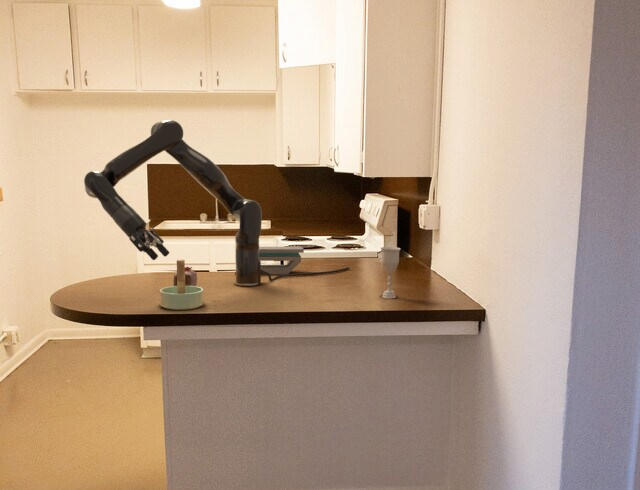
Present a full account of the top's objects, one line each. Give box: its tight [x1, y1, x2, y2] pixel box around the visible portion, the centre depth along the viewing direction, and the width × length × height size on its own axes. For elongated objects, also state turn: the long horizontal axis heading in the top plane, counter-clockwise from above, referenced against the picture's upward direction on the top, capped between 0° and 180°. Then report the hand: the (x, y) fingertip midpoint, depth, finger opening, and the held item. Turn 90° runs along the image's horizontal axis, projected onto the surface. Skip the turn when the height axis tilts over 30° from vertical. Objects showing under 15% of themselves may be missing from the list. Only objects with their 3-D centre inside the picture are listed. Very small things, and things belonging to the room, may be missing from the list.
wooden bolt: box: [176, 259, 186, 294], centre depth 221 cm, size 5×5×15 cm
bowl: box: [159, 285, 205, 311], centre depth 222 cm, size 14×14×6 cm
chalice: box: [380, 246, 401, 299], centre depth 241 cm, size 7×7×18 cm
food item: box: [173, 266, 198, 287], centre depth 242 cm, size 14×8×10 cm, turn 7°
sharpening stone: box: [259, 246, 305, 275], centre depth 287 cm, size 25×8×11 cm, turn 98°
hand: (161, 256), depth 221 cm, fingers open, 8 cm apart
